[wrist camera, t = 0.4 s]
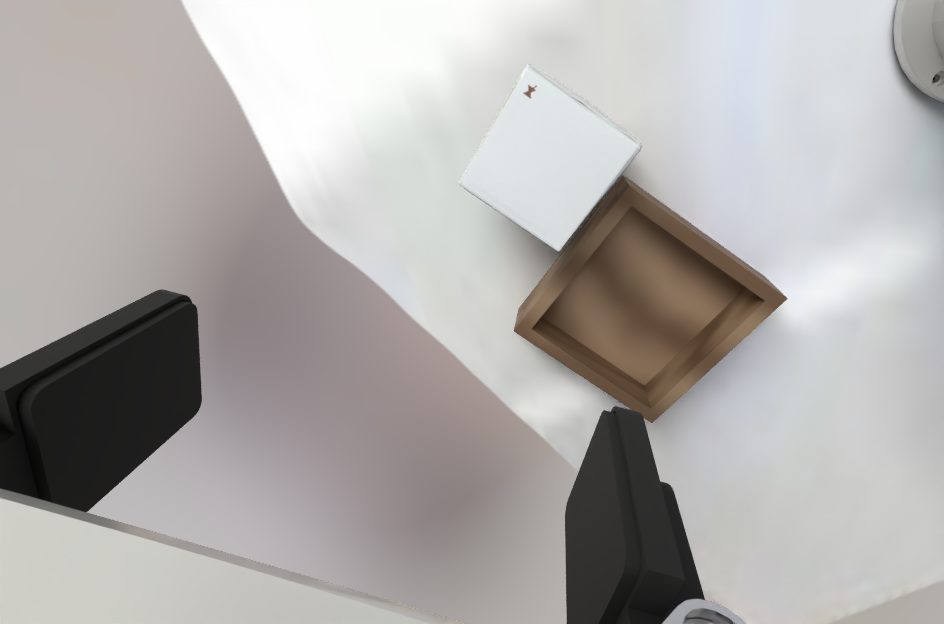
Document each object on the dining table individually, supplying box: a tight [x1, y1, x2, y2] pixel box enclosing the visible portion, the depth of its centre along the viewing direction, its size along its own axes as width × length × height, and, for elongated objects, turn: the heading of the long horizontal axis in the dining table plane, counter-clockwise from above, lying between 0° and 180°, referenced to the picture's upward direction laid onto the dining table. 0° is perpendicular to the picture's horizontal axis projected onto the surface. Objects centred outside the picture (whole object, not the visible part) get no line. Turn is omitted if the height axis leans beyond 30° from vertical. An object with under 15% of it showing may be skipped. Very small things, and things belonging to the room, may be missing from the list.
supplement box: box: [458, 64, 641, 251], centre depth 32 cm, size 7×7×13 cm
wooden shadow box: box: [514, 176, 788, 423], centre depth 39 cm, size 14×14×4 cm
